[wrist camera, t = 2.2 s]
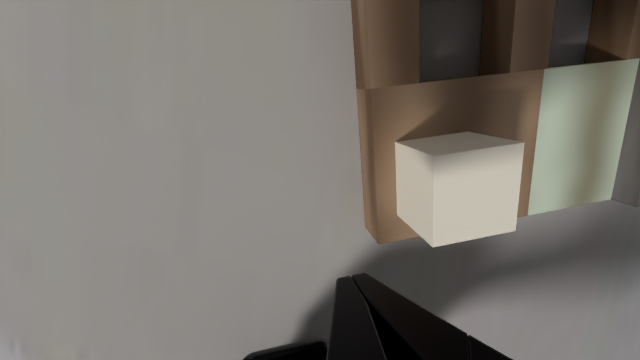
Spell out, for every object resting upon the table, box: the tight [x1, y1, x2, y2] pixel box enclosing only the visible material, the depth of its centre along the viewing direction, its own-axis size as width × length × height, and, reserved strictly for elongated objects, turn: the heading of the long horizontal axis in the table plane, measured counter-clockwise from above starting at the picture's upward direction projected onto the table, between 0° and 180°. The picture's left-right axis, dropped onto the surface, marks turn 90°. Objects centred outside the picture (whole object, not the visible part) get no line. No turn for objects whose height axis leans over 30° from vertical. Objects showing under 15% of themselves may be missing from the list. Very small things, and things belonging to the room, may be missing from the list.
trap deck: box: [351, 0, 640, 244], centre depth 18 cm, size 18×16×4 cm
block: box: [395, 132, 525, 247], centre depth 16 cm, size 4×4×4 cm
